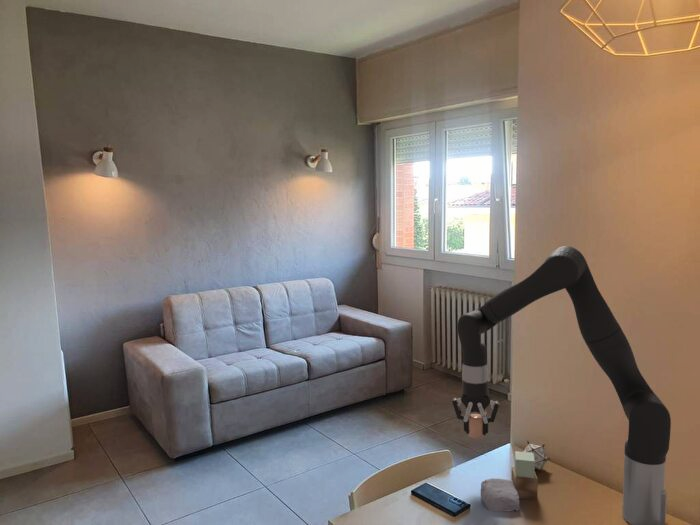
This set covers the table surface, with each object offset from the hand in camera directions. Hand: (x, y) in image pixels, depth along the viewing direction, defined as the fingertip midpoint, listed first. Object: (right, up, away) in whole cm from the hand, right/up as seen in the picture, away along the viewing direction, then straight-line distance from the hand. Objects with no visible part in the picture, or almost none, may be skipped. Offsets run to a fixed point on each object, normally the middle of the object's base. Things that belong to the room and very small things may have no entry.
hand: (476, 433), depth 159 cm
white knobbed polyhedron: (+19, -13, +6) cm, 24 cm away
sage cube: (+12, -9, -8) cm, 17 cm away
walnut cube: (+12, -15, -7) cm, 20 cm away
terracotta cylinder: (0, -1, 0) cm, 1 cm away
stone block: (+4, -16, -10) cm, 19 cm away
